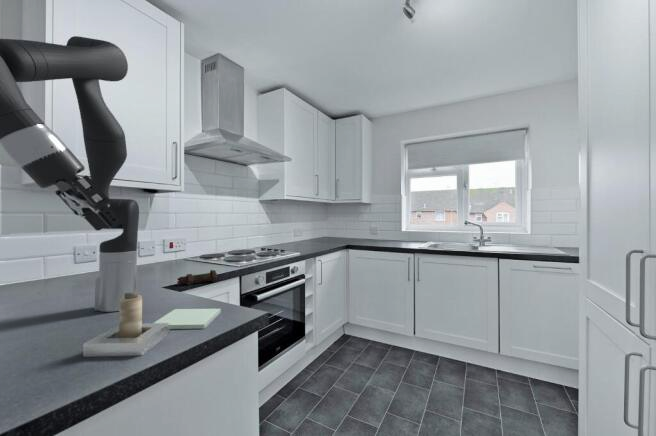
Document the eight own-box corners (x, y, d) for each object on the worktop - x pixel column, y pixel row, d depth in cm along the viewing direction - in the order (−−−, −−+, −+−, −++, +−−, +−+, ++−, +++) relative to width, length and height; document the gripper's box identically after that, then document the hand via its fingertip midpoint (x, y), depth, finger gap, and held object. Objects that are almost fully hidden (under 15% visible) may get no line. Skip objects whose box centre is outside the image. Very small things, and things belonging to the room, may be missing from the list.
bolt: (177, 289, 118) (214, 284, 127) (179, 285, 114) (217, 280, 124) (175, 276, 120) (212, 271, 130) (178, 272, 117) (215, 267, 126)
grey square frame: (83, 356, 55) (83, 343, 55) (120, 334, 66) (120, 323, 66) (141, 355, 56) (142, 342, 56) (169, 333, 67) (169, 323, 67)
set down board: (149, 329, 69) (150, 325, 69) (174, 312, 82) (175, 309, 82) (204, 328, 70) (204, 324, 70) (220, 312, 83) (220, 308, 83)
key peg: (114, 348, 59) (115, 295, 59) (126, 340, 63) (127, 290, 63) (134, 348, 59) (135, 295, 59) (145, 340, 63) (146, 290, 63)
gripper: (77, 139, 50) (140, 214, 57) (57, 155, 58) (114, 219, 65) (27, 157, 45) (103, 237, 52) (13, 172, 53) (80, 239, 60)
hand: (109, 227), depth 59 cm, fingers open, 8 cm apart
